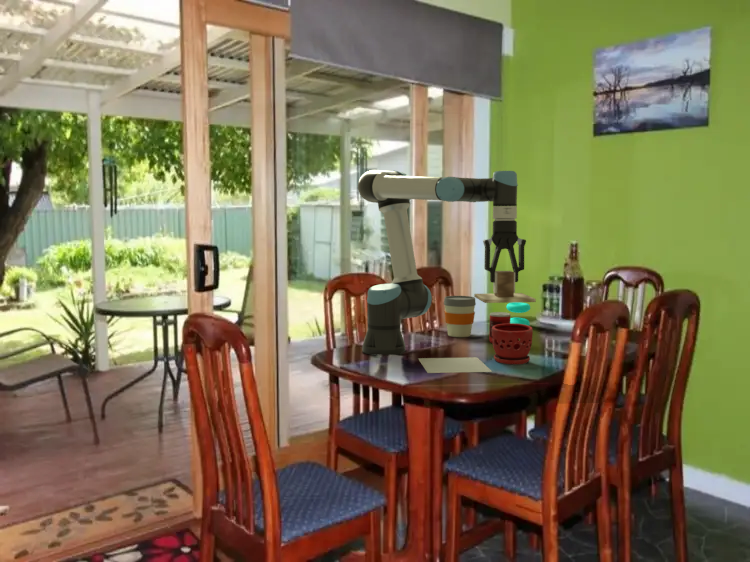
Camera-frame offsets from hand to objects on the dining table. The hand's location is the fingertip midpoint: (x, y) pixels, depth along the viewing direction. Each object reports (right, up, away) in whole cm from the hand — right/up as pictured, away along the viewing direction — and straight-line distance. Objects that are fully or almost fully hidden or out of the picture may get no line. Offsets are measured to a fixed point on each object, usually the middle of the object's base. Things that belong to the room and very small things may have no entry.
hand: (504, 292), depth 218 cm
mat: (-16, -24, -2) cm, 29 cm away
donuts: (+19, -16, +71) cm, 76 cm away
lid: (0, -2, 0) cm, 2 cm away
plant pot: (+3, -23, +4) cm, 24 cm away
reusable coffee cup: (-8, -18, +52) cm, 56 cm away
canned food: (+5, -20, +37) cm, 42 cm away
